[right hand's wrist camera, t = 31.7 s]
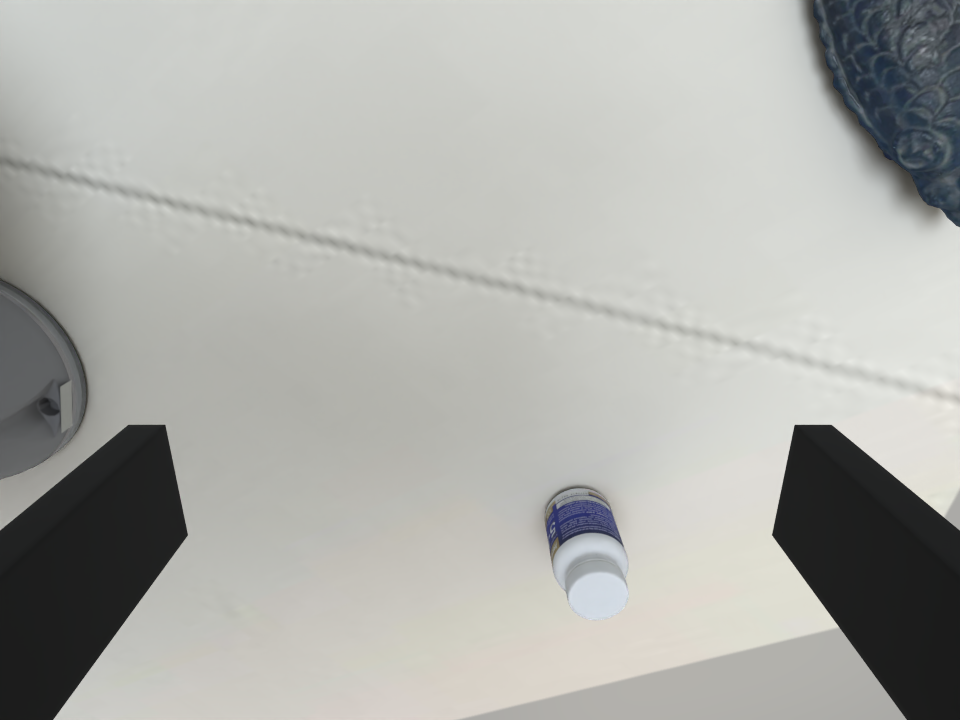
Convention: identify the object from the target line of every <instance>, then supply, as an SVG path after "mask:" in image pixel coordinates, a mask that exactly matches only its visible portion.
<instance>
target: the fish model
mask: <svg viewBox="0 0 960 720" xmlns="http://www.w3.org/2000/svg"><path fill="white" fill-rule="evenodd" d="M813 7H814V17H815V18H816V19H817V21H818V23H819V28H820V34H819V37H820V39H821V41H822V43H823V44H824V46H825V47H826V51H825V58H826V62H827V66H828V67H829V69H830V70H831V71H832V72H833V74H834V80H833V85H834V87H835V88H836V89H837V90H838V91H839V92H840V93H841V94H842V96H843V99H844V103H845V105H846V106H847V107H848V108H849V109H850V110H851V111H853V112H854V113H856V115H857V116H858V121H859V123H860V125H861V126H863V127H864V128H865V129H866V130H867V131H868V132H869V133H870V134H871V135H872V136H873V137H874V138H875V140H876V142H877V143H878V145H879V146H878V147H879V148H880V149H882V150H883V153H884V155H885V157H886V158H888V159H889V160H894V161H895V162H896V163H897V164H898V165H900V166H901V167H902V168H904V169H905V170H907V171H908V172H909V173H910V174H911V176H912V178H913V180H914V182H915V184H916V187H917V190H918V192H919V195H920V196H921V197H922V199H923V201H925V202H926V203H927V204H928V205H931V206H934V207H937V208H940V209H941V210H942V211H943V212H944V213H945V214H946V216H947V218H948V219H950V220H951V221H952V222H953V223H954V224H955V225H956V226H958V227H960V0H814V4H813Z"/></svg>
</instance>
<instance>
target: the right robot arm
mask: <svg viewBox="0 0 960 720" xmlns="http://www.w3.org/2000/svg"><path fill="white" fill-rule="evenodd" d="M85 405H86V384H85V378H84V373H83V370H82V366H81V363H80V361H79V358H78V356H77V353H76V351H75V349H74V347H73V345H72V344H71V342H70V340H69V338H68V337H67V336H66V334H65V333H64V331H63V330H62V328H61V327H60V326H59V325H58V324H57V322H56V321H55V320H54V319H53V318H52V317H51V316H50V315H49V314H48V313H47V312H46V311H45V310H44V309H43V308H42V307H41V306H40V305H39V304H38V303H36V302H35V301H34V300H33V299H31V298H30V297H29V296H27V295H26V294H24V293H23V292H21V291H20V290H18V289H17V288H15V287H13V286H11V285H9V284H7V283H6V282H3V281H1V280H0V479H3V478H6V477H9V476H13V475H16V474H19V473H21V472H24V471H26V470H28V469H30V468H32V467H35V466H37V465H38V464H40V463H42V462H43V461H45V460H46V459H48V458H49V457H50V456H52V455H53V454H54V453H56V452H57V451H58V450H60V449H61V448H62V447H63V446H64V445H65V444H67V443H68V442H69V440H70V439H71V438H72V437H73V435H74V434H75V432H76V431H77V429H78V427H79V425H80V423H81V421H82V418H83V414H84V410H85ZM187 536H188V533H187V529H186V524H185V519H184V514H183V509H182V504H181V499H180V494H179V490H178V485H177V480H176V475H175V470H174V465H173V460H172V455H171V451H170V446H169V441H168V436H167V431H166V426H165V425H128V426H127V427H125V428H124V429H123V430H122V431H121V432H119V433H118V434H117V435H116V436H114V437H113V438H112V439H111V440H110V441H108V442H107V443H106V444H105V445H104V446H102V447H101V448H100V449H99V450H97V451H96V452H95V453H94V454H93V455H91V456H90V457H89V458H88V459H87V460H85V461H84V462H83V463H82V464H80V465H79V466H78V467H77V468H76V469H74V470H73V471H72V472H71V473H70V474H68V475H67V476H66V477H65V478H64V479H62V480H61V481H60V482H59V483H57V484H56V485H55V486H54V487H53V488H51V489H50V490H49V491H48V492H47V493H45V494H44V495H43V496H42V497H40V498H39V499H38V500H37V501H36V502H34V503H33V504H32V505H31V506H30V507H28V508H27V509H26V510H25V511H23V512H22V513H21V514H20V515H19V516H17V517H16V518H15V519H14V520H13V521H11V522H10V523H9V524H8V525H6V526H5V527H4V528H3V529H2V530H0V720H53V719H54V718H55V716H56V715H57V714H58V712H59V711H60V710H61V708H62V707H63V705H64V704H65V703H66V701H67V700H68V699H69V697H70V696H71V695H72V693H73V692H74V690H75V689H76V688H77V686H78V685H79V684H80V682H81V681H82V679H83V678H84V677H85V675H86V674H87V673H88V671H89V670H90V668H91V667H92V666H93V664H94V663H95V662H96V660H97V659H98V658H99V656H100V655H101V653H102V652H103V651H104V649H105V648H106V647H107V645H108V644H109V642H110V641H111V640H112V638H113V637H114V636H115V634H116V633H117V632H118V630H119V629H120V627H121V626H122V625H123V623H124V622H125V621H126V619H127V618H128V616H129V615H130V614H131V612H132V611H133V610H134V608H135V607H136V605H137V604H138V603H139V601H140V600H141V599H142V597H143V596H144V595H145V593H146V592H147V590H148V589H149V588H150V586H151V585H152V584H153V582H154V581H155V579H156V578H157V577H158V575H159V574H160V573H161V571H162V570H163V569H164V567H165V566H166V564H167V563H168V562H169V560H170V559H171V558H172V556H173V555H174V553H175V552H176V551H177V549H178V548H179V547H180V545H181V544H182V543H183V541H184V540H185V538H186V537H187ZM772 536H773V537H774V538H775V540H776V541H777V543H778V544H779V545H780V547H781V548H782V549H783V551H784V552H785V553H786V555H787V556H788V558H789V559H790V560H791V562H792V563H793V564H794V566H795V567H796V569H797V570H798V571H799V573H800V574H801V575H802V577H803V578H804V579H805V581H806V582H807V584H808V585H809V586H810V588H811V589H812V590H813V592H814V593H815V595H816V596H817V597H818V599H819V600H820V601H821V603H822V604H823V605H824V607H825V608H826V610H827V611H828V612H829V614H830V615H831V616H832V618H833V619H834V621H835V622H836V623H837V625H838V626H839V627H840V629H841V630H842V632H843V633H844V634H845V636H846V637H847V638H848V640H849V641H850V642H851V644H852V645H853V647H854V648H855V649H856V651H857V652H858V653H859V655H860V656H861V658H862V659H863V660H864V662H865V663H866V664H867V666H868V667H869V668H870V670H871V671H872V672H873V674H874V675H875V677H876V678H877V679H878V681H879V682H880V684H881V685H882V686H883V688H884V689H885V690H886V692H887V693H888V694H889V696H890V697H891V699H892V700H893V701H894V703H895V704H896V705H897V707H898V708H899V710H900V711H901V712H902V714H903V715H904V716H905V718H906V719H907V720H960V530H958V529H957V528H956V527H955V526H953V525H952V524H951V523H950V522H949V521H947V520H946V519H945V518H944V517H943V516H941V515H940V514H939V513H938V512H937V511H935V510H934V509H933V508H932V507H930V506H929V505H928V504H927V503H926V502H924V501H923V500H922V499H921V498H920V497H918V496H917V495H916V494H915V493H913V492H912V491H911V490H910V489H909V488H907V487H906V486H905V485H904V484H903V483H901V482H900V481H899V480H898V479H896V478H895V477H894V476H893V475H892V474H890V473H889V472H888V471H887V470H886V469H884V468H883V467H882V466H881V465H880V464H878V463H877V462H876V461H875V460H873V459H872V458H871V457H870V456H869V455H867V454H866V453H865V452H864V451H863V450H861V449H860V448H859V447H858V446H856V445H855V444H854V443H853V442H852V441H850V440H849V439H848V438H847V437H846V436H844V435H843V434H842V433H841V432H839V431H838V430H837V429H836V428H835V427H833V426H832V425H795V426H794V431H793V436H792V441H791V446H790V451H789V455H788V460H787V465H786V470H785V475H784V480H783V485H782V490H781V494H780V499H779V504H778V509H777V514H776V519H775V524H774V529H773V533H772Z"/></svg>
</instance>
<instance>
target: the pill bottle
mask: <svg viewBox="0 0 960 720" xmlns="http://www.w3.org/2000/svg"><path fill="white" fill-rule="evenodd" d="M545 525H546V531H547V537H548V543H549V548H550V555H551V561H552V567H553V572H554V576H555V579H556V581H557V582H558V584H559V585H560V587H561V588H562V589H563V590H564V591H566V594H567V598H568V602H569V605H570V607H571V608H572V610H573V611H574V612H575V613H576V614H577V615H579V616H581V617H583V618H585V619H589V620H603V619H607V618H610V617H613V616H614V615H616V614H618V613H619V612H620V611H621V610H622V609H623V608H624V607H625V605H626V603H627V601H628V597H629V591H628V587H627V583H626V580H625V578H626V576H627V573H628V557H627V554H626V551H625V548H624V546H623V543H622V540H621V537H620V534H619V531H618V528H617V525H616V523H615V519H614V516H613V513H612V510H611V507H610V505H609V503H608V502H607V500H606V499H605V498H604V497H603V496H602V495H600V494H599V493H597V492H595V491H593V490H590V489H584V488H576V489H570V490H567V491H564V492H562V493H560V494H559V495H557V496H556V497H555V498H554V499H553V500H552V501H551V502H550V504H549V505H548V507H547V509H546V513H545Z"/></svg>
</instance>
